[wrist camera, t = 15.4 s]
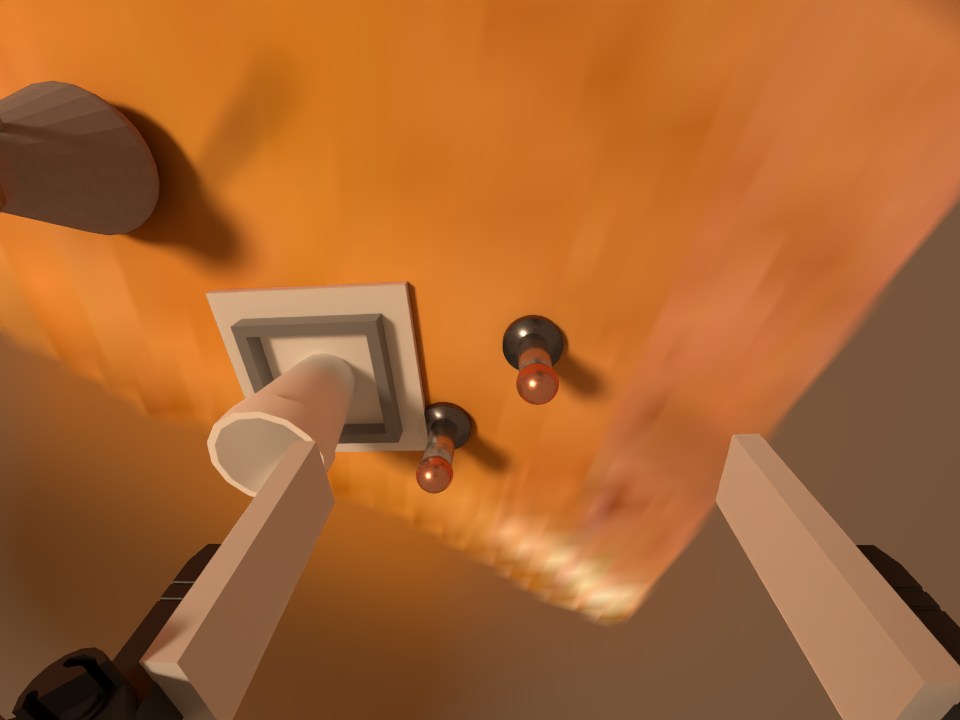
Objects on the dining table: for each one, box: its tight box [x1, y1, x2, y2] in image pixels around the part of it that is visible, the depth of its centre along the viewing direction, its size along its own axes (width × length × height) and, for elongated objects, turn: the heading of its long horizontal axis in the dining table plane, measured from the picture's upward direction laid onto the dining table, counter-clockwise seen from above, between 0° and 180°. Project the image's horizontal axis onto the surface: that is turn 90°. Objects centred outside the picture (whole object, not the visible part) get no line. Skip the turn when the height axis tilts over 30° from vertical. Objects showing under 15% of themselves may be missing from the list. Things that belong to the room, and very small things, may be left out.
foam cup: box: [207, 353, 356, 497], centre depth 40 cm, size 10×9×13 cm
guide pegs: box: [416, 315, 563, 493], centre depth 41 cm, size 6×20×10 cm, turn 139°
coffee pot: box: [0, 81, 160, 235], centre depth 29 cm, size 21×12×15 cm, turn 148°
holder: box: [206, 281, 428, 452], centre depth 45 cm, size 20×20×3 cm
